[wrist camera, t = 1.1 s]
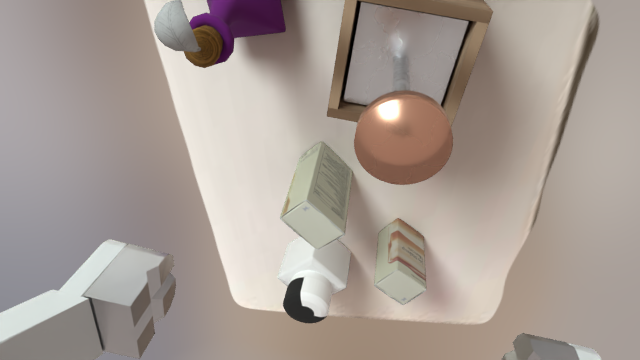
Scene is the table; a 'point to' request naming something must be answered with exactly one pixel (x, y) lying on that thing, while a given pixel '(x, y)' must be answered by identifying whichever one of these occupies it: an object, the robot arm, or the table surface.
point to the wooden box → (455, 3)
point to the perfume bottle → (216, 27)
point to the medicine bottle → (313, 278)
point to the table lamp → (402, 90)
